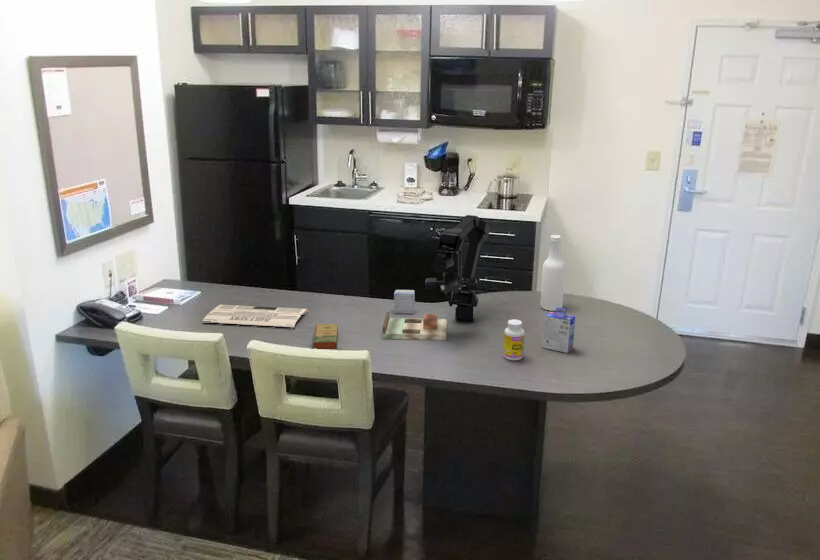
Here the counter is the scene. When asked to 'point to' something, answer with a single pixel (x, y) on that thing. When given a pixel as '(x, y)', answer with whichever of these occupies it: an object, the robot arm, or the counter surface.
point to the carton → (326, 336)
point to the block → (430, 321)
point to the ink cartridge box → (558, 331)
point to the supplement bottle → (513, 340)
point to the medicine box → (404, 301)
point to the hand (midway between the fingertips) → (450, 306)
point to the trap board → (412, 329)
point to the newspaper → (255, 315)
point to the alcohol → (553, 277)
